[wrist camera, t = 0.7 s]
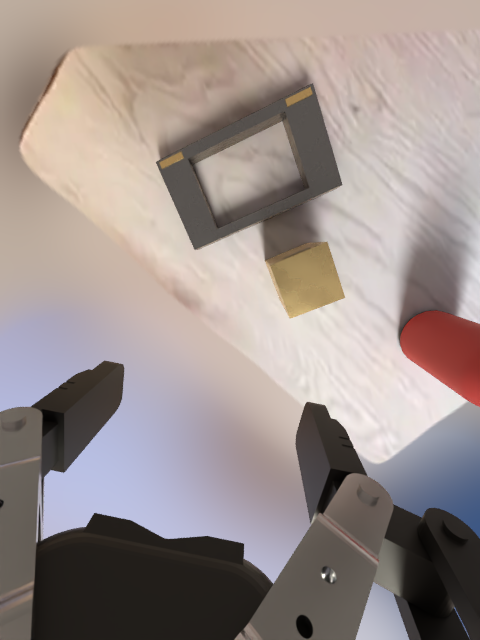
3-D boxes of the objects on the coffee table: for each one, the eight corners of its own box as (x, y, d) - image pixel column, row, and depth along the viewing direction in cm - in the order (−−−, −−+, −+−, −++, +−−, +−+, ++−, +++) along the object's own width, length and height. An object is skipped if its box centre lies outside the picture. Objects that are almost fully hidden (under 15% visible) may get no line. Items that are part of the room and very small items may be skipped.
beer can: (411, 370, 33) (497, 437, 22) (388, 327, 32) (466, 374, 20) (463, 343, 32) (584, 399, 20) (441, 298, 31) (557, 330, 19)
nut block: (307, 242, 30) (327, 241, 22) (321, 285, 31) (345, 298, 23) (264, 260, 30) (269, 265, 23) (280, 301, 31) (290, 319, 24)
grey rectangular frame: (308, 95, 26) (312, 82, 24) (336, 189, 28) (342, 184, 26) (162, 167, 28) (155, 161, 26) (198, 249, 30) (194, 249, 28)
